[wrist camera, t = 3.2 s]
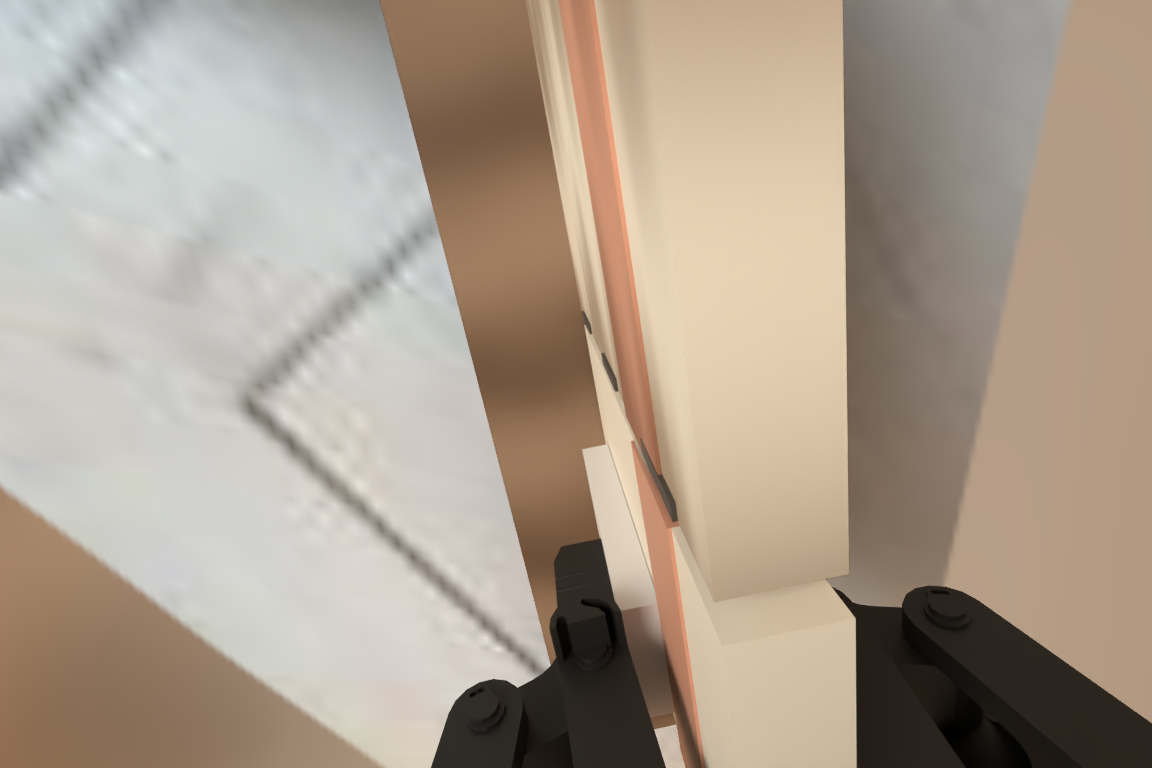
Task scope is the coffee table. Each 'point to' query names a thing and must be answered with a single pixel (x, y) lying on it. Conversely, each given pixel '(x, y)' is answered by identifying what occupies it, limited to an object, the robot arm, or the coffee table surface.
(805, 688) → the stub
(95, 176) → the coffee table surface
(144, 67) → the coffee table surface
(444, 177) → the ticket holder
